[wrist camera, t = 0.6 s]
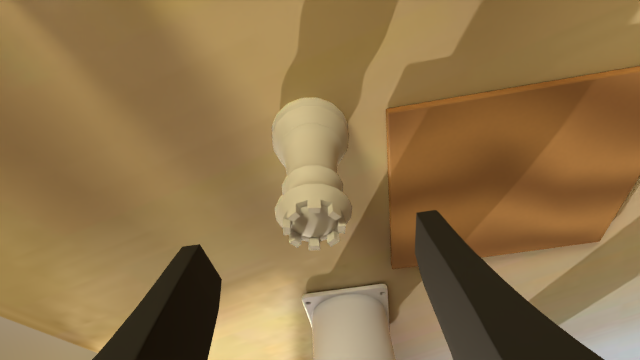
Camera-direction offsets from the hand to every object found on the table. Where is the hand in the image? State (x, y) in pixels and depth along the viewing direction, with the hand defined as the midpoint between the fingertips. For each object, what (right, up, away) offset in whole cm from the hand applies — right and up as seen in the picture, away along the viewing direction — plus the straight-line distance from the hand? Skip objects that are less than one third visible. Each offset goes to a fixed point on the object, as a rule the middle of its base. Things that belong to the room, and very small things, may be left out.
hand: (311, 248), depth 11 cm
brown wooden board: (+14, +2, +12) cm, 18 cm away
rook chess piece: (0, +5, +8) cm, 10 cm away
